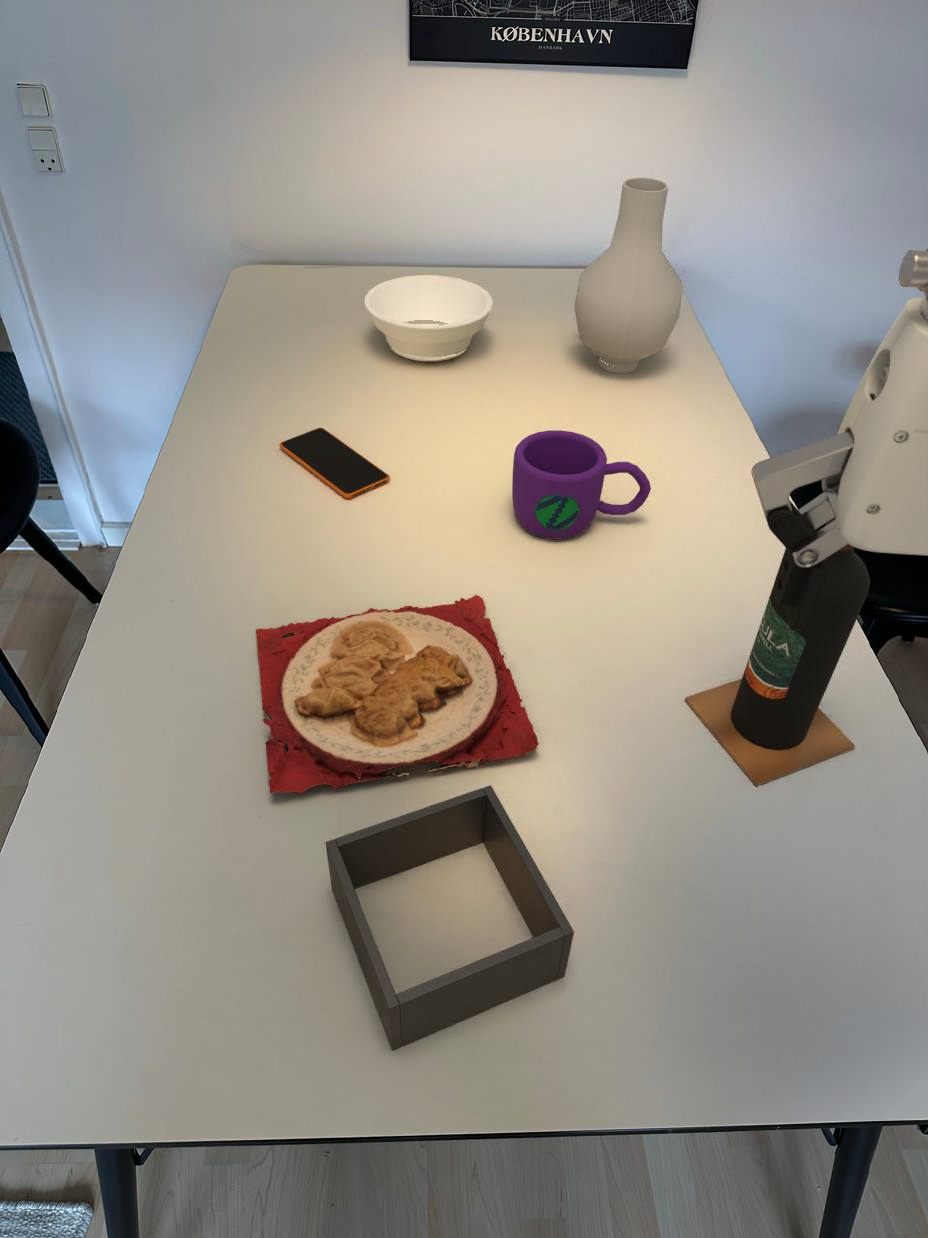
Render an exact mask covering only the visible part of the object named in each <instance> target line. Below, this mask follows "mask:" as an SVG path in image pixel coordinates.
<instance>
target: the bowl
mask: <svg viewBox="0 0 928 1238" xmlns="http://www.w3.org/2000/svg"><path fill="white" fill-rule="evenodd" d="M493 300H494V299H493V298H492V295H491V294H490V293H489V292H488V291H487V290H486V289H485V288H484V287H481V286H480V285H478V284H476V283H474V282H471V281H469V280H465V279H463V278H462V279H461V278H458V277H452V276H447V275H438V274H437V275H436V274H420V275H419V274H418V275H408V276H400V277H397V278H392V279H388V280H386V281H382V282H380V283H379V284H376V285H375V286H373V287H372V288H370V289H369V290H368V291H367V293H366V295H365V297H364V300H363V302H364V303H363V304H364V306H365V309H366V311H367V313H368V315H369V317H370V319H371V321H372V322H373V325H374V326H375V327H376V329H377V330H378V331H380V332H382V334H384V336H385V339H386V342H387V344H388V343H389V345H390V346H391V347H393V348H394V349H395V350H397V351H399V352H401V353H403V354H410V355H415V356H421V357H441V356H447V355H451V354H458V353H460V352H462V351H464V350H465V349H466V348H467V347H468V346H470V344H471V341H472V339H473V336H474V335H475V334H476V333H479V331H480V330H481V329H482V328H483V327H484V325H485V323H486V321H487V319H488V317H489V315H490V313H491V312H492V309H493V307H494V301H493ZM414 320H433V321H440V322H444V323H448V324H444V325H439V324H409V323H404V322H408V321H414ZM389 345H388V346H389ZM468 349H469V347H468V348H467V349H466V350H465V351H464V352H463V353H461V354H459V355H457V356H455V357H451V358H447V359H441V360H418V359H413V358H408V357H405V356H402V355H400V354H398V353H396V352H395V351H393V350H392V349H391V348H390V350H391V351H392V352H393V353H395V354H396V355H397V356H400V357H402V358H406V359H409V360H413V361H420V362H441V361H447V360H450V359H454V358H456V357H459V356H461V355H462V354H464V353H465V352H466V351H468Z"/></svg>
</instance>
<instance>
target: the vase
mask: <svg viewBox="0 0 928 1238" xmlns="http://www.w3.org/2000/svg"><path fill="white" fill-rule="evenodd" d="M668 191H669V185H668V183H666V182H665V181H663V180H660V179H656V178H650V177H631V178H627V179H625V180H624V181H623V182H622V186H621V193H620V202H619V208H618V215H617V219H616V221H615V227H614V230H613V234H612V237H611V241H610V245H609V247H608V248H606V249H605V250H604V251H603V252H602V253H601V254H600V255H599V256H597V258H595V259H594V260H593V261H592V262H591V263H590V264H589V265H588V266H587V267H585V268H584V269H583V270H582V271H581V272H580V273H579V278H578V283H577V289H576V295H575V300H574V313H575V320H576V325H577V332H578V337H579V339H580V341H582V343H583V344H584V345H585V346H586V347H587V348H588V349H590V350H591V351H592V352H594V353H595V354H596V355H598V356H599V360H598V363H599V366H600V368H602V369H603V370H605V371H608V372H610V373H615V374H627V373H632V372H634V371H636V370H637V368H638V366H639V361H640V360H643V359H645V358H648V357H649V356H651V355H653V354H656V353H658V352H660V351H661V350H662V349H663V348H664V347H665V346H666V344H667V342H668V341H669V338H670V336H671V334H672V333H673V330H674V328H675V327H676V324H677V323H678V320H679V318H680V315H681V305H682V297H683V291H684V290H683V288H684V286H683V281H682V279H681V277H680V275H679V274H678V273H677V271H676V270H675V268H674V267H673V266H672V264H671V262H670V261H669V259H668V258H667V256H666V254H665V253H664V252H663V250H662V249H663V227H664V226H663V224H664V216H665V210H666V203H667V197H668ZM600 358H601V359H600ZM601 360H602V361H603V362H602V361H601ZM604 362H605V363H606V364H605V363H604ZM637 362H638V363H637ZM607 364H608V365H607ZM613 366H614V367H613Z"/></svg>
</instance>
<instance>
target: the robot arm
mask: <svg viewBox="0 0 928 1238" xmlns="http://www.w3.org/2000/svg"><path fill="white" fill-rule="evenodd" d="M898 283H899V285H900V287H903V288H917V290H919V292H923V294H924V296H921V297H911V298H910V299H908V300H907V301H906V304H905V305H904V306H903V308H902V309H901V311H900V312H899V314H898V315H897V316H896V318H895V319H894V321H893V323H892V324H891V326H890V328H889V329H888V331H887V333H886V335H885V336H884V338H883V340H882V341H881V342H880V344H879V346H878V348H877V350H876V352H874V353H875V354H874V355H873V357H872V359H871V361H870V363H869V365H868V367H867V368H866V370H865V372H864V374H863V376H862V378H861V380H860V382H859V384H858V386H857V388H856V390H855V393H854V394H853V396H852V399H851V401H850V403H849V405H848V408H847V409H846V412H845V414H844V417H843V419H842V421H841V424H840V427H839V429H838V431H837V433H836V435H832V436H830V437H827V438H824V439H821V440H819V441H818V440H817V441H816V442H813V443H809V444H806V445H803V446H801V447H798V448H795V449H792V450H789V451H786V452H783V453H780V454H778V455H774V456H771V457H769V458H766V459H763V460H761V461H758V462H756V463H755V464H754V465H753V466H752V468H751V471H750V472H751V476H752V479H753V483H754V485H755V490H756V493H757V495H758V498H759V502H760V505H761V508H762V511H763V514H764V517H765V520H766V523H767V527H768V529H769V531H771V533H773V536H775V537H776V539H777V540H778V541H779V542H780V543H781V544H782V545H783V546H784V548H785V549H784V552H783V555H782V558H781V561H780V564H779V566H778V570H777V573H776V575H775V579H774V582H773V585H774V589H773V593H774V598H775V601H776V604H777V605H781V606H783V609H784V612H785V615H786V618H787V621H788V625H789V628H790V630H795V631H802V630H803V629H804V628H807V626H808V623H809V621H810V618H811V615H812V613H813V610H814V608H815V605H816V602H817V600H818V597H819V595H820V592H821V589H822V587H823V584H824V582H825V579H826V576H827V569H826V567H825V564H824V561H823V560H824V559H825V558H827V557H829V556H830V555H832V554H833V553H835V552H836V551H838V550H839V549H841V548H843V547H844V546H846V545H847V544H849V545H851V546H853V547H855V549H859V550H862V551H867V552H872V553H881V554H893V555H895V554H897V555H910V556H911V555H912V556H913V555H914V556H927V557H928V248H926V250H914V249H913V250H911V249H910V250H908V251H907V252H906V253H905V254H904V256H903V257H902V260H901V262H900V267H899V271H898ZM819 481H821V489H822V493H820V494H819V495H817V496H816V497H814V498H813V499H812V500H810V501H809V502H807V503H806V504H804V505H803V506H802V507H800V508H797V507H796V506H795V505H794V504H793V502H792V501H791V500H790V496H791V494H792V492H793V491H794V490H796V489H798V488H802V487H804V486H806V485H807V486H808V485H810V484H813V483H815V482H816V483H817V482H819ZM834 517H836V519H835V520H834V521H832V522H831V523H829V524H828V525H826V523H827V522H828V521H829V520H831V519H832V518H834ZM823 525H826V526H823ZM822 526H823V527H822ZM821 527H822V528H821ZM819 528H820V529H819ZM817 529H819V530H817Z"/></svg>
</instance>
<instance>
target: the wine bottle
mask: <svg viewBox="0 0 928 1238" xmlns="http://www.w3.org/2000/svg"><path fill="white" fill-rule="evenodd" d="M835 519H836V517H834V518H832V519H831V520H829V521H828V522H826V523H825V524H824V525H825V526H826V525H828V524H829V523H831V522H832V521H834V520H835ZM825 526H824V527H825ZM855 549H856V547H853V546H851V545H849V544H847V545H846V546H844V547H843V548H841V549H839V550H838V551H836V552H835V553H833V554H832V555H830V556H829V557H827V558H825V559H824V560H823V561H824V564H825V567H826V569H827V576H826V579H825V582H824V584H823V587H822V589H821V592H820V595H819V597H818V600H817V602H816V605H815V608H814V610H813V613H812V615H811V618H810V621H809V623H808V626H807V628H804V629H803V630H802V631H795V630H790V628H789V625H788V621H787V618H786V615H785V612H784V609H783V606H781V605H777V604H776V601H775V598H774V593H773V589H774V584H773V585H772V588H771V591H770V594H769V597H768V601H767V603H766V606H765V609H764V612H763V615H762V618H761V621H760V624H759V627H758V629H757V633H756V636H755V639H754V642H753V644H752V648H751V649H750V650H751V651H750V652H749V656H748V659H747V662H746V665H745V669H744V671H743V675H742V677H741V679H742V680H741V683H740V686H739V689H738V692H737V695H736V698H735V701H734V704H733V707H732V710H731V720H732V723H733V725H734V727H735V729H736V730H737V731H738V732H739V733H740V734H741V735H742V737H743V738H745V739H746V740H748V741H750V742H751V743H753V744H755V745H757V746H760V747H762V748H765V749H771V750H787V749H791V748H793V747H796V746H798V745H799V744H800V743H801V742H802V741H803V740H804V739H805V737H806V735H807V732H808V730H809V728H810V726H811V723H812V721H813V719H814V716H815V714H816V712H817V709H818V708H820V705H821V702H822V700H823V698H824V695H825V693H826V691H827V689H828V687H829V684H830V681H831V679H832V677H833V675H834V672H835V670H836V668H837V666H838V663H839V661H840V658H841V656H842V654H843V652H844V649H845V648H846V645H847V642H848V640H849V639H850V636H851V633H852V631H853V628H854V626H855V625H856V622H857V619H858V618H859V614H860V612H861V610H862V609H863V606H864V603H865V601H866V599H867V596H868V593H869V590H870V585H871V579H870V574H869V571H868V568H867V566H866V564H865V561H863V560H862V558H861V557H860V556H859V555H858V554H857V553H856V552H855Z"/></svg>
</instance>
